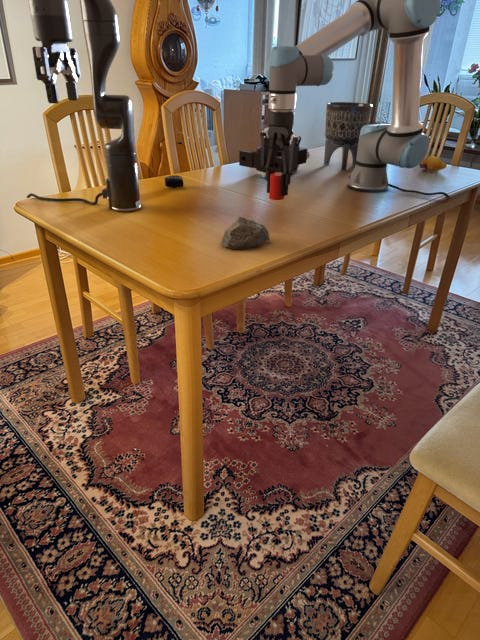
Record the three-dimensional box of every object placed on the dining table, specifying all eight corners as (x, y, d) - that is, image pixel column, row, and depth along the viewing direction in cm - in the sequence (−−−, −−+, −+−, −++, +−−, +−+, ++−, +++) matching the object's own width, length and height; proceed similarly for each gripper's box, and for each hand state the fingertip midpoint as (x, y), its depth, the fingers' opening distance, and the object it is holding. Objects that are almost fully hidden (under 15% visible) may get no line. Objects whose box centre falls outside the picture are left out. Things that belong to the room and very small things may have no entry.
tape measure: (165, 189, 168) (164, 179, 167) (165, 185, 174) (164, 175, 172) (183, 189, 169) (183, 179, 168) (183, 184, 175) (182, 174, 173)
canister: (276, 201, 137) (277, 176, 133) (266, 197, 140) (267, 173, 136) (287, 198, 139) (288, 174, 135) (276, 195, 142) (278, 171, 138)
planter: (313, 167, 208) (319, 103, 195) (331, 160, 222) (338, 101, 209) (353, 173, 199) (362, 107, 185) (369, 166, 213) (379, 104, 199)
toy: (420, 164, 201) (414, 157, 214) (422, 178, 204) (416, 170, 217) (447, 156, 198) (439, 149, 211) (449, 170, 201) (441, 162, 213)
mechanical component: (240, 120, 182) (283, 115, 202) (239, 174, 192) (280, 164, 212) (283, 126, 170) (325, 120, 190) (280, 183, 180) (320, 171, 200)
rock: (255, 233, 128) (256, 211, 124) (276, 242, 122) (278, 219, 119) (217, 244, 120) (217, 220, 117) (239, 254, 115) (239, 230, 111)
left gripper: (48, 11, 86) (63, 105, 94) (83, 17, 98) (94, 100, 107) (12, 11, 87) (30, 104, 95) (51, 17, 99) (64, 98, 108)
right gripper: (249, 108, 130) (247, 190, 142) (298, 114, 119) (292, 202, 131) (266, 107, 134) (263, 186, 146) (315, 112, 124) (307, 197, 136)
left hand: (64, 101), depth 101 cm, fingers open, 8 cm apart
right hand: (277, 193), depth 139 cm, fingers closed on canister, 5 cm apart
